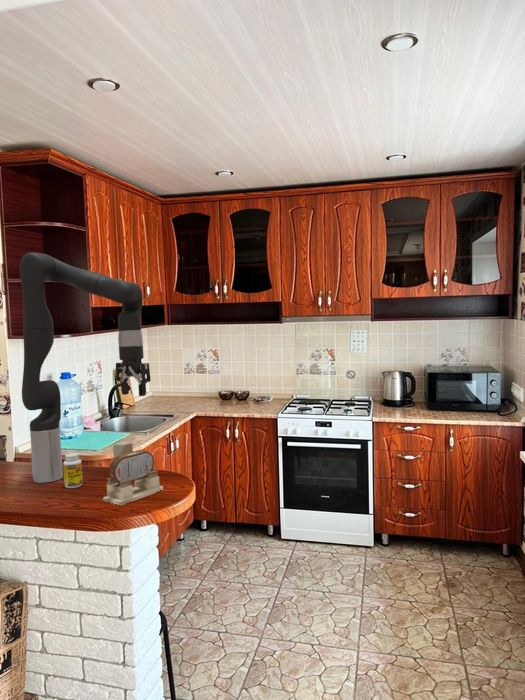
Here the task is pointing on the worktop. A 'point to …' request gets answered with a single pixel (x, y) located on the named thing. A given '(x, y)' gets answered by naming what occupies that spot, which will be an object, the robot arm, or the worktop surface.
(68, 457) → the supplement bottle
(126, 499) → the cradle
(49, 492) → the worktop surface
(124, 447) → the box
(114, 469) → the tin
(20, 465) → the worktop surface
